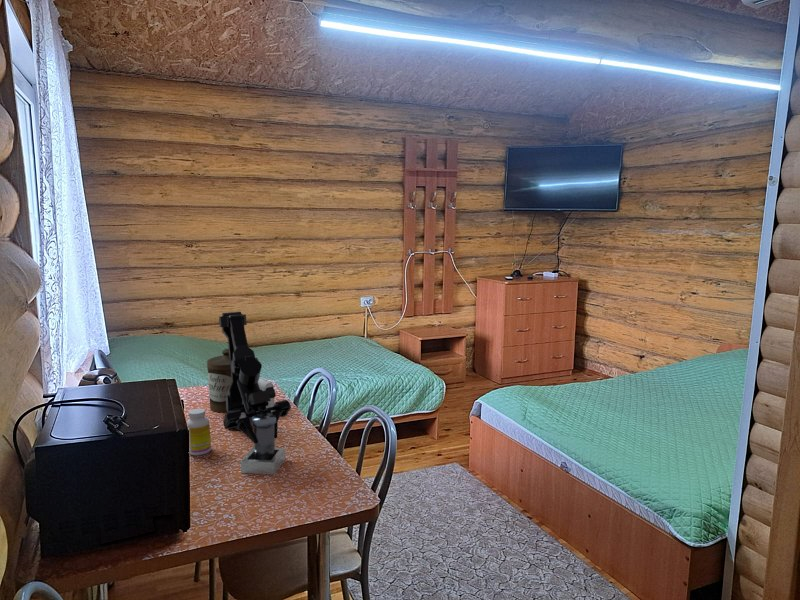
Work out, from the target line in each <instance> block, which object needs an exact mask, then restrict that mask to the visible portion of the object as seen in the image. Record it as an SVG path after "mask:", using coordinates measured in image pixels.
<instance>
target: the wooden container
mask: <svg viewBox="0 0 800 600" xmlns="http://www.w3.org/2000/svg"><path fill="white" fill-rule="evenodd" d="M221 353H222V355H217V356H213V357H211V358H209V359H207V361H206V368H207V378H208V379H207V380H208V383H207V384H208V398H209V409H210V410H211V411H212V412H216V413H221V412H222V414H223V412H227V409H226V397H227V395H228V389H229V387H230V385H231V383H232V378H231V368H230V358H229V348H224V349H223V350H222V352H221ZM230 407H231V406H230Z"/></svg>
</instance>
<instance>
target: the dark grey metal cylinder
mask: <svg viewBox="0 0 800 600" xmlns="http://www.w3.org/2000/svg"><path fill="white" fill-rule="evenodd" d="M275 423H276V415H274V414H272V413H260V414H256V415H254V416H253V417H252V424H253V425H252V426H253V432H254V434H255V437H256V441H257V443H256V444H254V443H253V445H254V446H253V447H255V460H272V458H273V457H274V456H275V448H276V446H275V445H276V443H275V440H276V439H275V433H274V424H275Z"/></svg>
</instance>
